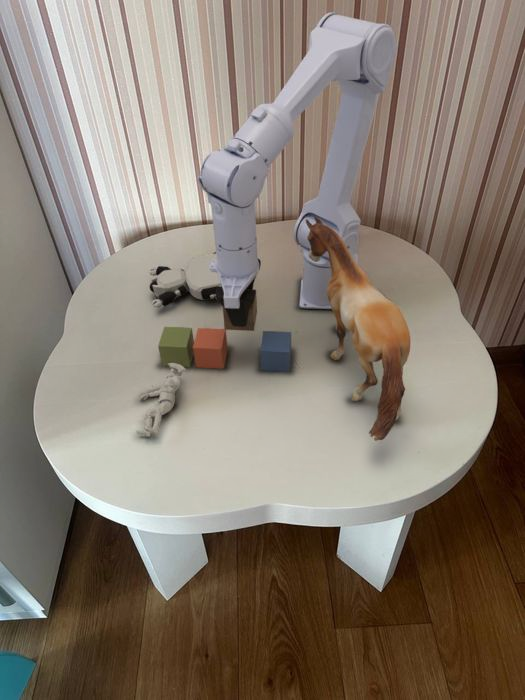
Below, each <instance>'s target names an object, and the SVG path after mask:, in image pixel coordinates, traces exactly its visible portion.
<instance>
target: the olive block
mask: <svg viewBox="0 0 525 700" xmlns="http://www.w3.org/2000/svg"><path fill="white" fill-rule="evenodd" d="M194 341H195V339H194V334H193V327H185V326H184V327H183V326H164V327H163V330H162V333H161V335H160V339H159V342H158V345H157V347H158V351H159V356H160V360H161V364H162V366H163V367H170V366H169V365H168V363H176V364H180V365H182V366H183V367H184V368H190V367H191V365H192V361H193V357H194V351H193V345H194Z"/></svg>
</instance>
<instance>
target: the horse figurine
mask: <svg viewBox="0 0 525 700" xmlns="http://www.w3.org/2000/svg"><path fill="white" fill-rule="evenodd" d="M314 219H315V221H316V223H315V224H314V225H312V224H311V223H310V222H309V221H308V219H306V224H307V226H308V228H309V229H310V233H309V235H308V237H307V239H308V241H309V243H310V245H311V247H310V252H309V254H308V256H309V258H311V259H312V261H315V262H318V261H319V260H320V257H321V256H322V255H323V254H324V253H325V252H326V251H327V252H328V254H329V259H330V265H331V271H332V278H331V280H330V281H329V284H328V287H327V296H328V299H329V301H330V306H331V308H332V309H331V311H332V314H333V316H334V318H335V321H336V324H335V331H336V336H337V338H338V347H337V350H333V352H331V354H330V358H331V359H332V360H334V361H338V360H340V359H341V358H342V356H343V355H344V353H345V337H346V333H347V332H346V330H348V331H349V332H350V333H352V334H353V335H352V339H351V341H352V344H353V349H354V351H356V353H357V356H358V361H359V364H360V366H361V368H362V369H363V371H364V372H365V374H366V377H365V380H364V381H363V382H362V383H360V384H358V385H357V386H356V388H355V390H354V392H353V394H352V398H351V401H353V402H355V401H360V400H363V395H362V394H363V393H364V392H365V391H366V390H367V389H369V388H370V387H374V386H376V385H377V384H378V382H379V379H378V377H377V375H376V372H375V369H374V363H377V362H380V361H381V363H382V369H383V375H382V378H381V384H380V385H381V392H380V395H379V399H378V405H377V415H376V419H375V422H374V423H373V425H372V427H371V429H370V430H369V431H368V434H369V435H370V437H371V438H373V437H374V438H373V439H374V441H383V440H384V439H385V438H386V437H387V436H388V434H389V433H390V432H391V430H392V428H393V427H394V425H395V423H396V421H398V419H399V418H400V415H401V414H402V408H401V407H402V402H403V401H402V400H403V398H404V396H405V391H406V387H405V385H404V381H403V375H404V366H405V364H406V363H407V361H408V358H409V355H410V352H411V333H410V329H409V327H408V326H409V325H408V324H407V321H406V319H405V317H404V315H403V312H402V311H401V309H400V307H399V306H398V305H397V304H396V303H395V302H392V301H391V300H389V299H387V297H386V296H384V295H383V294H382V293H380V291H378V290H377V289H376V288H375V286H374V285H373V284H372V283H371V280H369V277H368V275H367V274H366V272H365V271H364V270H363V269H362V268H361V267H360V266H359V265H358V262H357V263H356V262H355V260H354V259H353V257H352V256H351V254H350V252H349V250H348V248H347V246H346V245H345V243H344V242H343V240H342V239H341V237H340V236H339V235H338V234H337V233H336V232H335V231H334V230H333V229H332V228H330V227H328V226H326V225H324V224H323V223H322V222H321V221H320V219H318V218H317V217H315V216H314Z"/></svg>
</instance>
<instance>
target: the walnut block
mask: <svg viewBox="0 0 525 700" xmlns="http://www.w3.org/2000/svg"><path fill="white" fill-rule="evenodd" d="M245 290H256V289H254V288H253V289H245ZM257 300H258V299H257V294H256V295H255V299H254V301H253V303H252V304H251V306H250V308H249V314H248V321H247V325H246V327H238V326H233V325H232V323H231V321H230V319H229V317H228V314H227V312H226V310H225V309H224V307H223V306H222V315H223V316H222V317H223V325H224V329H225V330H226V331H247V332H255V328H256V322H257V315H258V301H257Z"/></svg>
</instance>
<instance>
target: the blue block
mask: <svg viewBox="0 0 525 700" xmlns="http://www.w3.org/2000/svg"><path fill="white" fill-rule="evenodd" d="M260 343H261V344H260V351H259V352H260V367H261V369H260V371H262V372H281V373H282V372H283V373H284V372H285V373H288V372H289V373H290V371H291V361H292V360H291V359H292V331H278V330H276V331H275V330H262V335H261V342H260Z"/></svg>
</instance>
